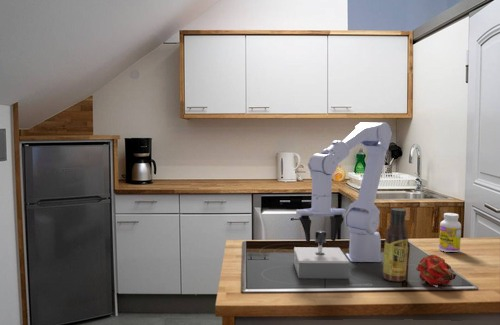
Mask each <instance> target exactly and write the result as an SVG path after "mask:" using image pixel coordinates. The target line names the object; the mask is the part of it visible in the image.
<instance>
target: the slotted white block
mask: <svg viewBox="0 0 500 325" xmlns="http://www.w3.org/2000/svg"><path fill="white" fill-rule="evenodd" d="M293 265H294V268H295V272H296V274H297V277H298V279H348V280H349V277H350V276H349V274H350V273H349V272H350V271H349V270H350V260H349V258H348V257H347V256H346V254H344V252H343V251H342V250H341V248H340V247H323V246H322V255H318V246H317V247H313V246H312V247H311V246H309V247H307V246H306V247H304V246H303V247H301V246H300V247H299V246H298V247H296V246H294V248H293Z"/></svg>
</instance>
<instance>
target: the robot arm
mask: <svg viewBox="0 0 500 325" xmlns="http://www.w3.org/2000/svg"><path fill="white" fill-rule="evenodd" d="M392 136H393V133H392V130H391V127H390V125H389V124H388V122H385V121H384V122H365V121H361V122H359V123H358V124H356V125H355V126H354V130H352V132H350V133H349V134H348V135H347V136H346V137H345V138H344V139H343V140H333V141H332V142H331V144H330V145H329V146H328V147H326V148H324V149H322V151H321V152H319V153H314V154H313V155H312V156H310V158H309V161H308V163H307V167H308V170H309V171H310V178H311V207H310V208H303V209H302V208H301V209H296V210H295V212H296V214H295V216H296V217H297V218H299V221H300V223H301V225H302V229H303V232H304V236H305V241H306V242H307V243H310V242H311V225H312V220H311V217H329V219H330V240H331V241H332V242H335V241H336V238H337V234H338V232H339V229H340V227H341V225H342V223H343V222H344V224H345V226H346V227H347V230H348V231H349V244H348V245H349V246H348V247H349V253H345V256H346V258H347V259H348V261H349V262H352V263H357V262H358V263H366V262H367V263H381V249H382V246H381V245H382V239H381V235H380V232H378V231H377V230H378V229H379V226H380V215H381V214H380V213H381V211H380V209H379V208H378V207H377V206H376V205H375V200H376V198H377V197H376V196H377V194H378V188H379V184H380V180H381V177H382V172H383V168H384V165H385V159H386V156H387V151H388V150H389V147H390V143H391V140H392ZM360 144H361V145H362V147H363V148H364V149H365V150H366V151H367V152H368V156H367V160H366V164H365V167H364V172H363V175H362V180H361V184H360V188H359V192H358V196H357V199H356V200H354V201H353V202H351V203H350V204H349V207H348V210H347V209H345V208H332V193H333V192H332V189H333V188H332V186H333V183H332V181H333V174H334V173H335V172H336V171H337V167H338V166H339V164H340V163H341V162H342V161H344V160H345V159H347V158H348V157H349V155H350V150H352V149H353V148H355V147H356V146H358V145H360Z"/></svg>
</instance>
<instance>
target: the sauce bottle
mask: <svg viewBox="0 0 500 325" xmlns="http://www.w3.org/2000/svg"><path fill="white" fill-rule="evenodd" d="M406 214H407V210H406V209H405V208H398V207H397V208H396V207H395V208H394V207H393V208H390V225H389V227H388V228H387V230H386V231H385V238H384V247H383V248H384V249H383V263H382V265H383V266H382V273H383V274H382V277H383V279H385V280H387V281H389V282H399V283H401V282H403V281H405V279H406V277H407V276H406V275H407V267H408V266H407V264H408V263H407V262H408V249H409V238H408V237H409V236H408V235H407V229H406V226H405V225H406V224H405V221H406Z"/></svg>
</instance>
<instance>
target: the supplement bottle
mask: <svg viewBox="0 0 500 325" xmlns="http://www.w3.org/2000/svg"><path fill="white" fill-rule="evenodd" d="M459 218H460V216H459V213H453V212H445V213H443V220H442V221H440V223H439V240H438V242H439V243H438V250H439V249H440V250H439V251H440V252H443V251H444V252H443V253H446V252H458V253H459V252H460V250H461V236H462V224H461V222H459Z"/></svg>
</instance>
